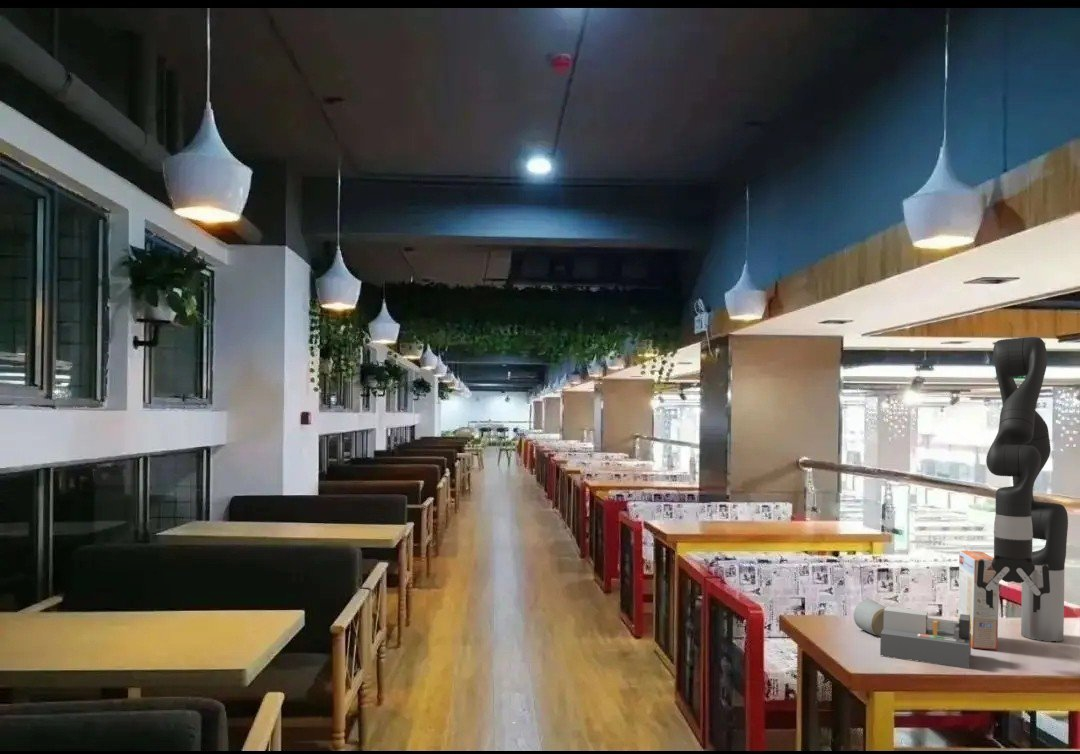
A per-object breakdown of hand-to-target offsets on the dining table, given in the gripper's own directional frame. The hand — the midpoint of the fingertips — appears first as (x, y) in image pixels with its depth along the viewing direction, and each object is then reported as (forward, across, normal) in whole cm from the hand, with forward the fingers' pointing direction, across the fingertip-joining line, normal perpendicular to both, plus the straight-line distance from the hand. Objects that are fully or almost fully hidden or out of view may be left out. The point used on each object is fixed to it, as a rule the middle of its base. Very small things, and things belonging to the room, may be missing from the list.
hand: (1012, 609), depth 202 cm
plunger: (+7, +14, +2) cm, 16 cm away
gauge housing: (+12, +17, +2) cm, 21 cm away
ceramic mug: (+13, +29, -14) cm, 35 cm away
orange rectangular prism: (+7, +15, +5) cm, 17 cm away
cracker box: (+13, +7, -18) cm, 23 cm away
